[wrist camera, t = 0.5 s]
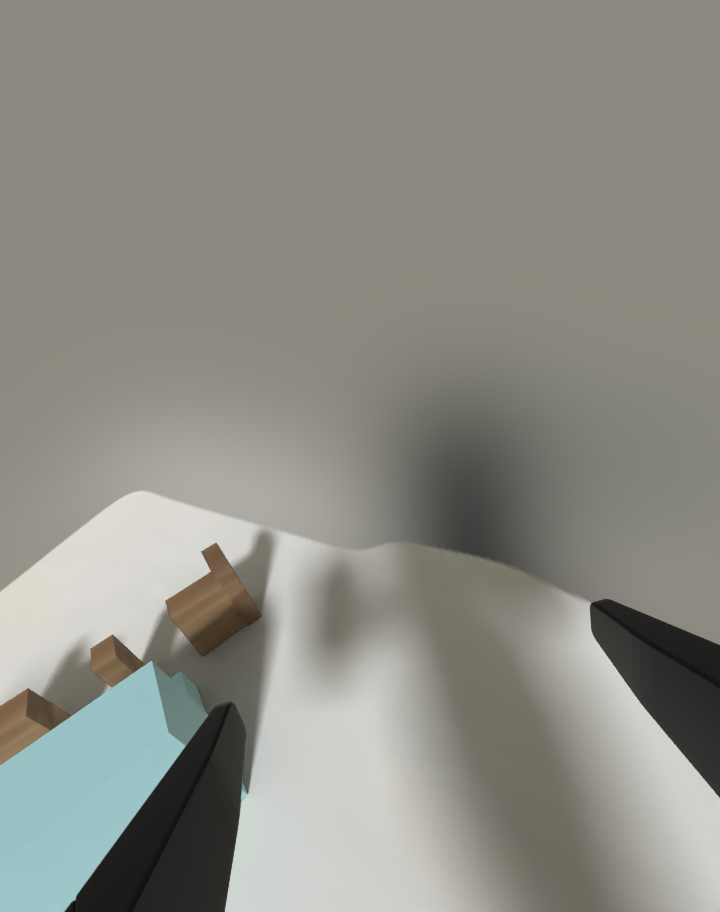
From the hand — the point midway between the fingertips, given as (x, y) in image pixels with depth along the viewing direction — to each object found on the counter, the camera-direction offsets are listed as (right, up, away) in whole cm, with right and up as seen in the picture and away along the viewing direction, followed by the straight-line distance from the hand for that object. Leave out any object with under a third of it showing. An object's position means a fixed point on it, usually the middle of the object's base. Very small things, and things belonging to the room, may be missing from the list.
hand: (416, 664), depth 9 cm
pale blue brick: (-13, -14, +13) cm, 23 cm away
